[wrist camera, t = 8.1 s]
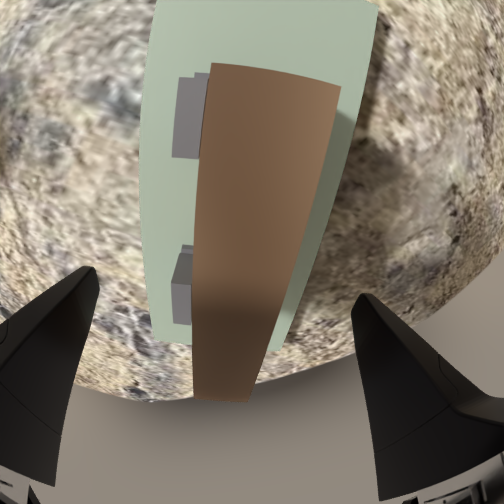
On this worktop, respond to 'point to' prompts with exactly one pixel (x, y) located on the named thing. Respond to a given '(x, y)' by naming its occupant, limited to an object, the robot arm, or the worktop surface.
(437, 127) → the worktop surface
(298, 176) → the brown wooden block
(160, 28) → the hinge base
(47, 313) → the robot arm
